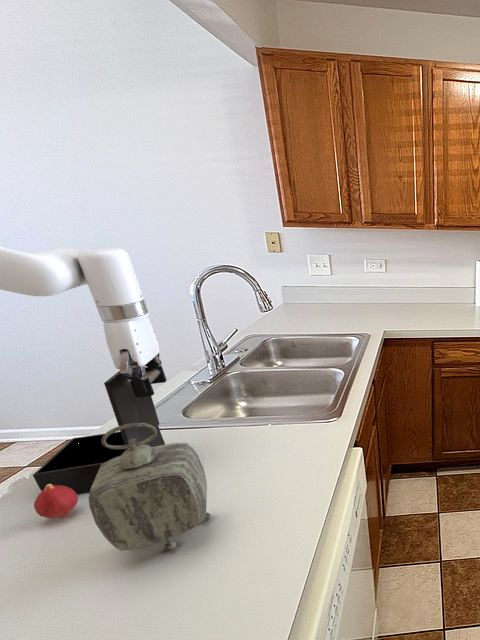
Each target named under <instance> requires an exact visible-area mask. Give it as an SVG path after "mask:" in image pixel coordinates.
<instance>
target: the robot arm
mask: <svg viewBox="0 0 480 640" xmlns="http://www.w3.org/2000/svg"><path fill="white" fill-rule="evenodd" d="M85 285H87V286H88V289H89V291H90V294H91V297H92V300H93V302H94V304H95V307H96V310H97V312H98V314H99V317H100V320H101V322H102V324H103V331H104V332H103V333H104V336H105V340H106V344H107V348H108V351H109V354H110V357H111V360H112V362H113V365H114V367H115V369H117V370H119V371H120V373H121V374H122V375H124V376H125V377H126V378H127V379H128V381H129V382H130V383H131V386H132V388H133V391H134V393H135V396H136V397H146V396H151V397H152V396H154V395H155V391H154V388H153V386H152V385H154V384H163V383H166V382H167V380H168V379H167V377H166V373H165V370H164V368H163V365H162V360H161V359H160V355H161V354H160V351H161V348H160V344H159V341H158V338H157V335H156V333H155V330H154V327H153V325H152V323H151V320H150V318H149V315H150V312H149V309H148V307H147V304H146V301H145V299H144V298H145V297H144V295H143V292H142V289H141V287H140V283H139V280H138V277H137V274H136V272H135V268H134V266H133V262H132V259H131V256H130V255H129V253H128V252H127V251H126V250H125V249H122V248H119V247H101V248H100V247H99V248H90V249H83V248H82V249H81V248H80V249H79V248H70V247H69V248H68V247H56V248H50V249H49V248H48V249H43V250H37V251H33V252H30V253H29V252H24V251H19V250H17V249H16V250H15V249H11V248H7V247H3V246H0V290H1V291H6V292H9V293H15V294H19V295H25V296H29V297H53V296H57V295H59V294H62V293H64V292H66V291H69V290H73V289H76V288H80V287H81V286H85ZM131 363H138V365H136V366H131ZM137 368H139V372H140V373H138V372H137V371H133V370H132V369H137ZM153 368H157V369H159V370H160V372H161V373H160V374H159V375H158V376H157V377H156V378H155V379H154V380H153V381H152V382H151V383H150V380H149V378H146V373H145V371H151V370H152V369H153Z"/></svg>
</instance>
